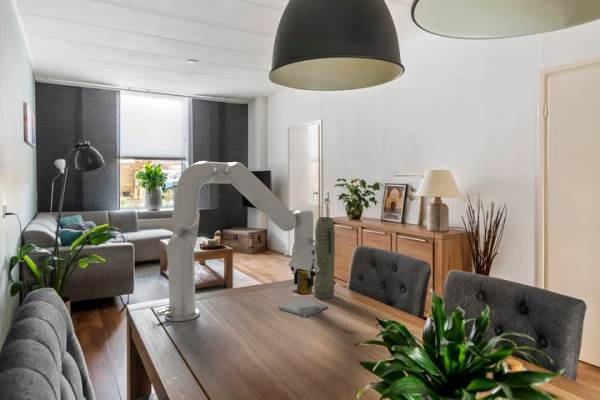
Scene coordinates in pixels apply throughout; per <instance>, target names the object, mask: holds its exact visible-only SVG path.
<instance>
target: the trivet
mask: <svg viewBox="0 0 600 400" xmlns="http://www.w3.org/2000/svg"><path fill="white" fill-rule="evenodd" d="M328 307H329V305H326V304H322V303H319V302H316V301H311V300H308V299H304V298H297V299H296V300H294V301H290V302H289V303H285V304H283V305H280V306H278V310H280V311H284V312H287V313H290V314H292V315H296V316H299V317H303V318H308V317H310V316H313V315H315V314H317V313H319V312H322V311H324V310H326V309H328Z"/></svg>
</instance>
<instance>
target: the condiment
mask: <svg viewBox="0 0 600 400" xmlns="http://www.w3.org/2000/svg"><path fill="white" fill-rule="evenodd" d="M310 273H311V271H310ZM307 278H309V277H308V274H307V271H305V270H302V269H298V270H297V284H296V289H290V292H291V293H292V295H293V297H296V296H312V295H313V296H314V293H315V292H314V291H313V287H310V288H307Z"/></svg>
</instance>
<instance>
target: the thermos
mask: <svg viewBox="0 0 600 400" xmlns="http://www.w3.org/2000/svg"><path fill="white" fill-rule="evenodd" d="M314 233H315V234H314V235H315V238H314V240H315V243H314V245H315V248H316V254H317V266H318V267H319V268H320V271H319V272H318V273H317V274H316V275H315V277H314V284H313V293H314V295H313V296H314V297H315V298H316V299H320V300H330V299H331V300H332V299H333V298H334V296H335V293H334V292H335V280H334V258H335V252H336V251H335V249H336V248H335V238H336V237H335V231H334V221H333V219H332V217H329V216H320V217H318V218H317V220H316V224H315V230H314Z"/></svg>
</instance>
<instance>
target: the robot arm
mask: <svg viewBox="0 0 600 400" xmlns="http://www.w3.org/2000/svg"><path fill="white" fill-rule="evenodd" d="M206 184H226V185H227V184H231V186H233V187H234V188H235V189H236V190H237V192H239V193H240V194H242V196H243V197H245V198H246V200H248V201H249V202H250V203H251V204H252V205H253V206H254V207H256V209H258V210H260V212H262V213H263V214H264V215H265V216H266V217H267V218H268V219H269V220H270V221H271V222H272V223H273V224H274V225H276V227H278V229H280V230H281V231H283V232H290V231H292V230H293V229H294V230H293V231H294V232H293V233H294V236H293V239H294V240H293V242H294V243H293V245H292V248H291V249H292V250H291V260H290V261H289V262H288V267H289V268H290V270H291V272H292V275H293V285H296V286H297V270H298V269H302V270H305V271H307V274H308V277H309V278H307V288H310V287H312V288H314V280H315V275H316V274H317V273H318V272H319V271H320V268H319V267H318V266H317V254H316V248H315V239H314V212H313V211H312V210H311V209H296V210H295V209H293V210H292V209H289V208H288V207H287V206H286V205H284V203H282V201H281V200H279V198H278V197H276V195H275V194H273V192H272V191H271V189H269V188H268V187H267V185H266V184H264V182H262V181H261V180H260V179H259V178H258V177H257V176H256V175H255V174H254V173H252V171H250V170H249V168H247V167H246V166H245V165H244V164H243V163H242V162H240V161H239V162H238V161H233V162H219V161H218V162H216V161H208V160H202V161H198V162H195V163H193V164H190V165H189V166H187V167H186V168H185V169H184V170H183V171H182V173H181V174H180V176H179V179H178V181H177V187H176V193H175V197H174V198H175V199H174V205H173V210H172V211H173V212H172V218H171V219H172V223H173V228H172V229H173V230H172V236H171V237H170V238H169V240H168V243H167V246H166V257H167V258H166V259H167V265H168V266H167V267H168V268H167V272H168V274H167V275H168V304H166V307H165V308H164V309H161V310H159V311H156V316H157V317H158V318H159V317H162V316H164V318H165V320H167V321H171V322H185V321H191V320H193V319H195V318H197V317H199V315H200V314H201V313H200V312H201V311H200V309H199V308H197V307H196V272H195V271H196V270H195V266H196V265H195V248H196V245H197V241H198V240H197V239H198V231H199V227H200V226H199V224H200V217H201V216H200V215H201V214H200V213H201V212H200V210H199V203H200V202H199V201H200V197H201V196H200V195H201V190H202V189H201V188H202V187H203V186H204V185H206ZM310 271H311V273H310Z"/></svg>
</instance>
